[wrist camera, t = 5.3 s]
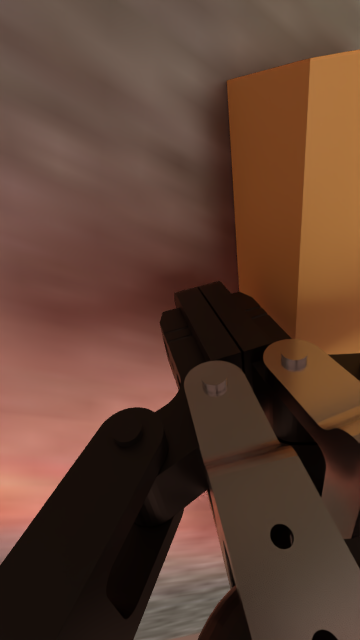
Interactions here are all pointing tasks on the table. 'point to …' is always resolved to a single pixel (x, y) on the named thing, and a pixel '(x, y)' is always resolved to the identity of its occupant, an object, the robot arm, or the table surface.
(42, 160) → the table surface
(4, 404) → the table surface
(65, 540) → the robot arm
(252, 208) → the t block
